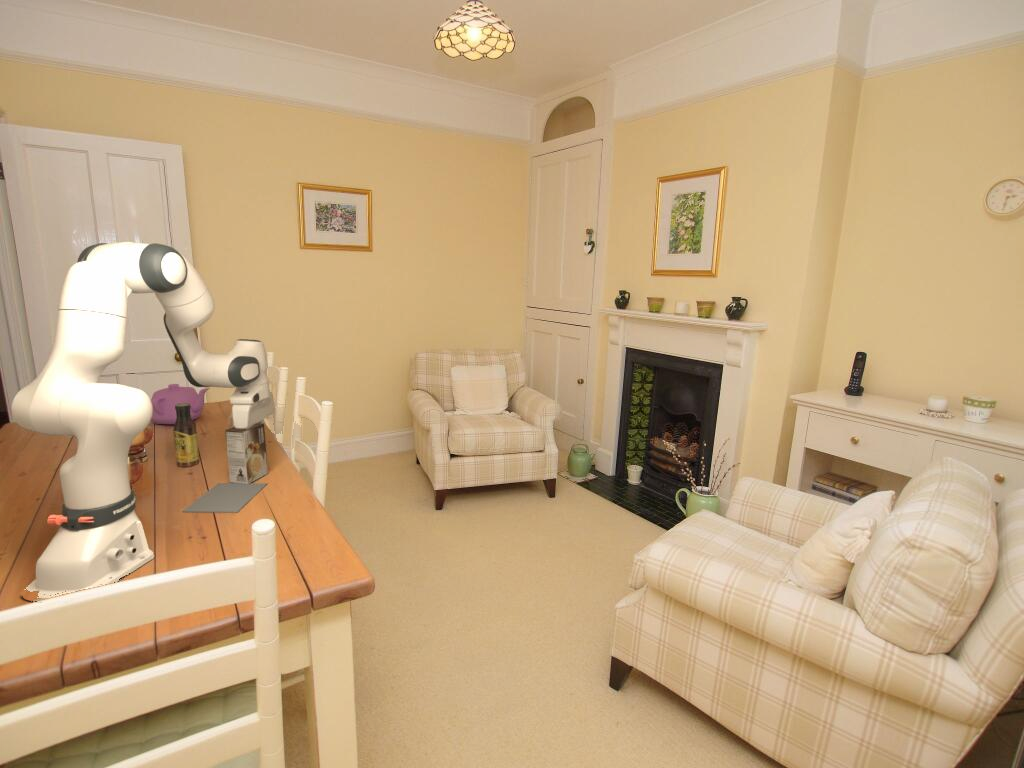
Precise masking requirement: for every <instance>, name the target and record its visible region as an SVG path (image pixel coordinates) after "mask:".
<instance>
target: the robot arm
mask: <svg viewBox="0 0 1024 768" xmlns="http://www.w3.org/2000/svg"><path fill="white" fill-rule="evenodd" d="M152 293H154V294H155V297H156V298H157V300H158V301H159V303H160V305H161V306H162V308H163V310H164V314H163V325H164V327H165V330H166V332H167V335H168V337H169V339H170V341H171V343H172V345H173V347H174V349H175V351H176V353H177V356H178V358H179V359H180V362H181V366H182V368H183V374H184V376H185V378H186V379H187V381H188V382H189V383H190V384H191V385H192V386H193V387H195V388H222V389H224V388H228V389H229V388H230V389H234V392H233V393H232V394H231V396H230V397H229V402H230V404H231V405H232V407H231V412H232V415H233V419H232V420H233V422H234V427H235V428H236V429H248V428H250V427H251V426H253V425H255V424H256V423H263V424H265V422H264V420H265V419H266V418H268V417H269V416H271V415H272V414H274V413H275V411H276V410H275V409H276V405H275V398H274V395H273V392H272V391H271V389H270V380H269V377H268V368H269V367H268V356H267V350H266V347H265V345H264V342H262V341H261V340H258V339H245V338H244V339H243V338H239V339H236V340H235V341H234V347H232V349H231V350H230V351H228V352H226V353H216V352H215V353H213V352H210V351H207V350H205V349H203V348H202V346H201V344H200V342H199V339H198V338H197V335H196V332H195V331H194V329H196V328H199V327H201V326H202V325H204V324H205V323H206V322H208V321H209V320H210V319H211V318H212V316H213V314H214V313H215V312H214V311H215V308H216V305H215V300H214V297H213V295H212V293H211V291H210V289H209V287H208V286H207V284H206V283H205V281H204V279H203V278H202V276H201V275H200V273H199V272H198V271H197V270H196V268H195V267H194V266H193V264H192V263H191V262H190V261H189V260H188V258H187V257H186V256H185V255H183V253H180V252H179V251H178V250H177V249H175V248H174V247H172V246H169V245H167V244H163V243H162V244H161V243H156V242H155V243H144V242H143V243H142V242H133V241H119V242H111V243H107V242H100V243H95V244H92V245H88V246H87V247H86V248H84V249H83V250H82V251H81V253H80V254H79V255H78V259H77V262H76V263H74V264H72V265H71V266H70V267H69V269H68V271H67V273H66V275H65V278H64V282H63V285H62V289H61V292H60V296H59V297H60V298H59V303H58V311H57V318H56V319H57V320H56V326H55V327H56V328H55V333H54V340H53V346H52V348H51V349H52V350H51V352H50V354H49V357H48V359H47V361H46V363H45V365H44V367H43V369H42V370H41V371H40V372H39V374H38V375H37V377H36V378H35V379H34V380H32V382H30V383H29V384H28V385H26V386H25V387H22V388H21V389H20V390H19V391H18V392H17V393H16V394H15V396H14V398H13V400H12V403H11V414H12V415H11V416H12V417H13V420H14V422H15V423H16V424H17V425H18V426H20V427H21V428H23V429H26V430H29V431H31V432H35V433H39V434H43V435H47V436H65V437H76V440H77V448H76V449H77V450H76V454H75V455H73V456H71V457H69V458H68V459H67V460H66V461H65V462H64V463H62V465H61V466H60V468H59V471H58V472H59V473H58V476H59V480H60V485H61V486H60V487H61V492H62V497H63V504H62V507H61V512H60V514H59V515H58V514H50V515H49V516H48V517H47V518H48V519H47V520H46V523H47V525H49V526H55V525H57V526H60V527H59V529H58V530H57V532H56V533H55V535H54V536H53V537H52V539H51V540H50V542H49V543H48V545H47V546H46V548H45V549H44V551H43V552H42V553H41V555H40V556H39V558H38V559H37V561H36V564H35V579H34V580H32V581H31V583H30V584H29V585H27V586H26V587H25V588H26V589H27V590H28V591H30V592H33V591H39V593H38V596H39V597H37V598H41V599H37V600H34V601H33V602H34V603H36V602H35V601H40V600H43V599H47V598H51V597H55V596H59V595H62V594H66V593H71V592H75V591H79V590H83V589H88V588H93V587H97V586H102V585H105V584H110V583H114V582H116V583H117V582H119V581H120V580H121V579H120V578H121V577H123V576H125V575H127V576H129V573H130V574H131V573H133V572H134V571H136V570H138V569H140V567H142V566H144V565H146V564H147V563H148V562H150V561H151V560H153V559H154V558H155V553H154V551H153V550H151V549H150V548H149V543H148V540H147V536H146V533H145V531H144V526H143V523H142V521H141V520H140V518H139V517H138V515H137V513H136V511H135V508H136V506H137V505H136V496H135V494H134V490H132V489H131V484H130V474H129V473H130V472H129V452H130V449H131V446H132V443H133V441H135V439H136V437H137V436H138V435H140V434H141V433H142V432H143V431H144V430H145V429H147V427H148V426H149V424H150V423H151V418H152V414H153V406H152V402H151V398H150V397H149V395H148V394H147V393H146V392H145V391H144V390H142V389H139V388H136V387H132V386H128V385H124V384H121V383H106V382H105V383H104V382H102V383H101V382H99V380H100V377H101V375H103V374H102V373H103V372H104V371H105V370H106V368H107V367H108V366H109V365H111V364H113V363H115V362H117V361H118V360H120V359H121V357H123V354H124V351H125V343H126V333H127V332H126V331H127V323H128V321H127V320H128V297H129V295H130V294H152ZM125 577H126V576H125ZM119 579H120V580H119ZM114 584H115V583H114ZM25 588H24V589H23V590H26V589H25ZM65 591H66V592H65ZM62 592H63V593H62ZM57 593H59V594H57ZM44 594H45V595H44ZM55 594H56V595H55ZM50 595H51V596H50Z"/></svg>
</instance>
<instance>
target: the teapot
mask: <svg viewBox="0 0 1024 768" xmlns="http://www.w3.org/2000/svg"><path fill="white" fill-rule="evenodd" d="M167 386H168V387H165V388H162V389H159V390H156V391H155V392H153V394H152V396H151V398H150V400H151V402H152V406H153V414H152V418H151V421H152V423H153V424H158V425H175V422H176V419H177V418H176V417H177V414H176V410H175V405H176V404H179V403H189V404H190V406H191V408H190V415H191V419H192V420H193V421H194V420H196V419H199V418H200V417H201V416H202V414H203V412H204V406H205V395H206V392H207V391H208V390H210V388H211V387H205V388H202V389H200V390H199V392H197V390H196V389H195V387H194V386H193V387H192V386H180V384H178V383H170V384H167ZM151 421H150V422H151Z"/></svg>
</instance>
